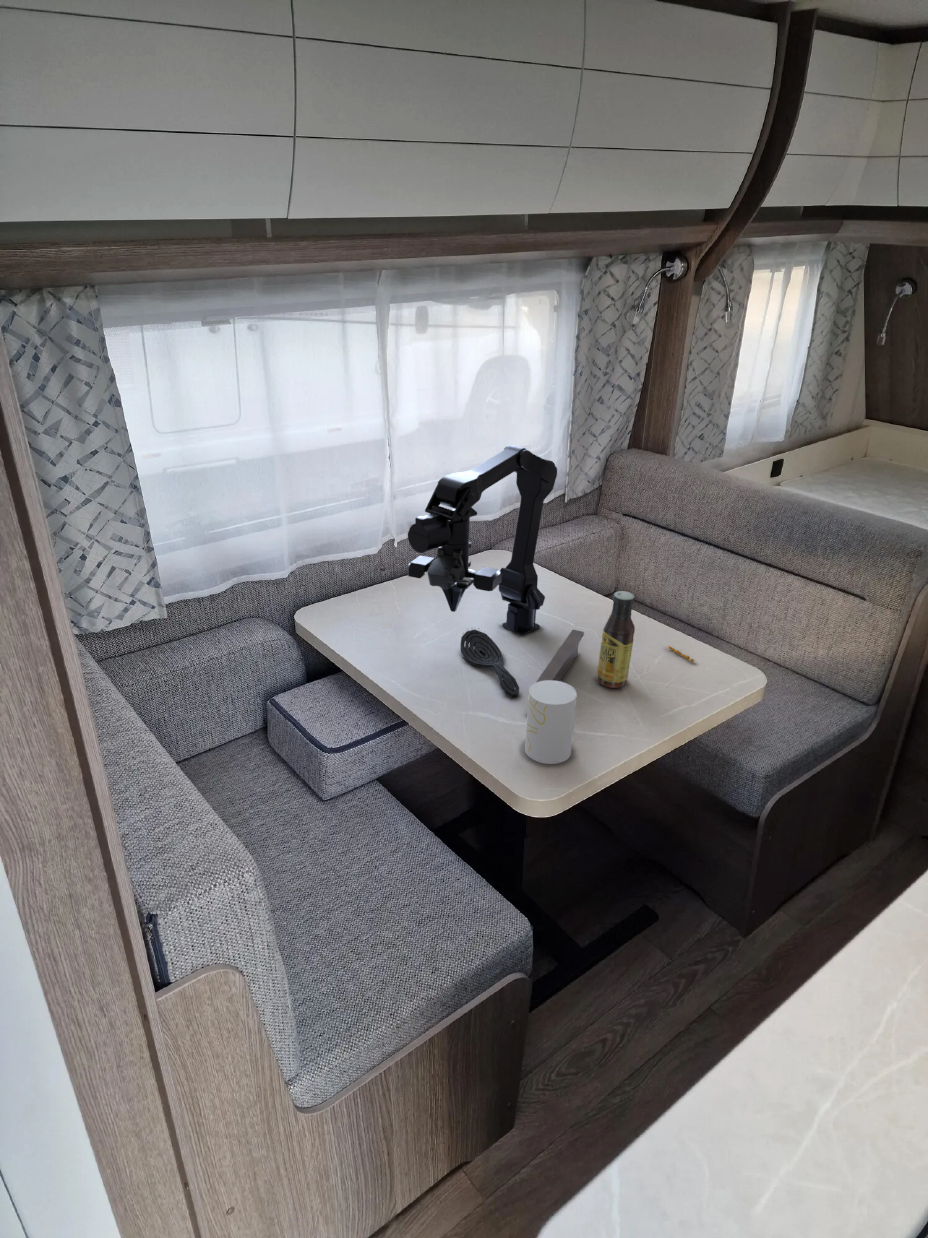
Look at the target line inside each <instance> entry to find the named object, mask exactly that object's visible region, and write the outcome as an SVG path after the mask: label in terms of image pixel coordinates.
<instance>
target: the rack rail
mask: <svg viewBox="0 0 928 1238" xmlns="http://www.w3.org/2000/svg"><path fill="white" fill-rule="evenodd" d="M584 636H585V631H583V630H577V629H572V630H571V631H570V633H569V634H568V635H567V637H566V638H565V640H564V641H563V643H562V644H561V646H560V647H559V648H558V649H557V651H556V652H555V654H554V655H553V657H552V659H551V660H550V661H549V663H548V664H547V665H546V666H545V668H544V669H543V671H542V673H541V674H540V675H539V677H538V678H537V680H536V681H535V683H537V682H540V681H545V680H554V681H560V682H562V679H563V678H564V677H565V675H566V673H567V672H568V670H569V668H570V667H571V665H572V664H573V663H574V661H575V659H576V658H577V657H578V652H579V644H580V642H581V640H582V639H583V637H584Z"/></svg>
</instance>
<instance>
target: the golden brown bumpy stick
mask: <svg viewBox="0 0 928 1238" xmlns="http://www.w3.org/2000/svg"><path fill="white" fill-rule="evenodd" d="M667 648H668V649H669V650H671V651H672V652H674V653H677V654H678V655H679V656H681V657H683V658H685V659H686V660H688V661H690V662H691V663H694V662H695V659H694V658H691V656H689V655H688V654H687V655H686V654H683V653H682V652H680V651H679V650H677V649H675V648H674V647H672V646H670V645H668V646H667Z"/></svg>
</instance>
